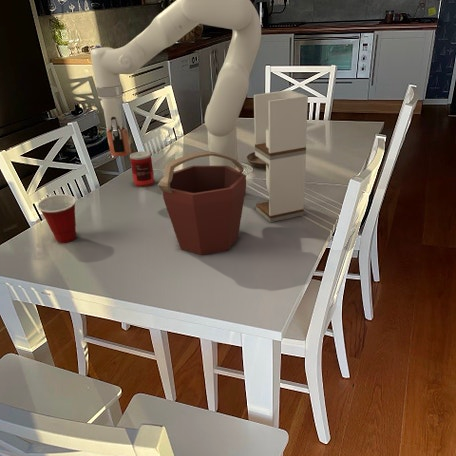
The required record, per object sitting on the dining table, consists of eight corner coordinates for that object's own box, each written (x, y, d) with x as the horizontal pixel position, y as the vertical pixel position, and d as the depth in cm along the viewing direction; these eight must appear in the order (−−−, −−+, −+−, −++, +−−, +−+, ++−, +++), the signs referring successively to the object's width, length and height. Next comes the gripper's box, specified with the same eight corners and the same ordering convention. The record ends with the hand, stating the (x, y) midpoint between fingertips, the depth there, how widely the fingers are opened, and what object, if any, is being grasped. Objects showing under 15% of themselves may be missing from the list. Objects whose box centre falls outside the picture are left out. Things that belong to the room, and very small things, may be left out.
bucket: (171, 265, 126) (159, 173, 112) (158, 231, 144) (146, 148, 130) (259, 249, 131) (257, 159, 118) (235, 218, 149) (231, 137, 136)
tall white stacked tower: (287, 203, 157) (289, 89, 138) (303, 215, 148) (307, 96, 130) (256, 209, 154) (253, 94, 135) (270, 222, 145) (269, 101, 126)
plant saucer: (241, 169, 188) (240, 161, 186) (253, 155, 202) (253, 148, 200) (285, 171, 182) (285, 163, 181) (295, 157, 196) (295, 150, 195)
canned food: (144, 178, 185) (140, 150, 179) (159, 182, 180) (155, 153, 174) (129, 184, 180) (124, 155, 174) (143, 188, 175) (139, 159, 169)
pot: (130, 155, 158) (126, 130, 153) (110, 157, 157) (105, 132, 152) (130, 149, 163) (126, 125, 159) (111, 151, 162) (106, 127, 158)
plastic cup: (46, 249, 138) (35, 211, 131) (48, 234, 146) (37, 197, 140) (85, 243, 140) (75, 205, 133) (84, 228, 149) (75, 192, 142)
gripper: (99, 88, 156) (109, 142, 166) (96, 98, 142) (107, 157, 151) (122, 85, 157) (131, 140, 167) (121, 95, 143) (131, 155, 152)
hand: (119, 148), depth 159 cm, fingers closed on pot, 6 cm apart
